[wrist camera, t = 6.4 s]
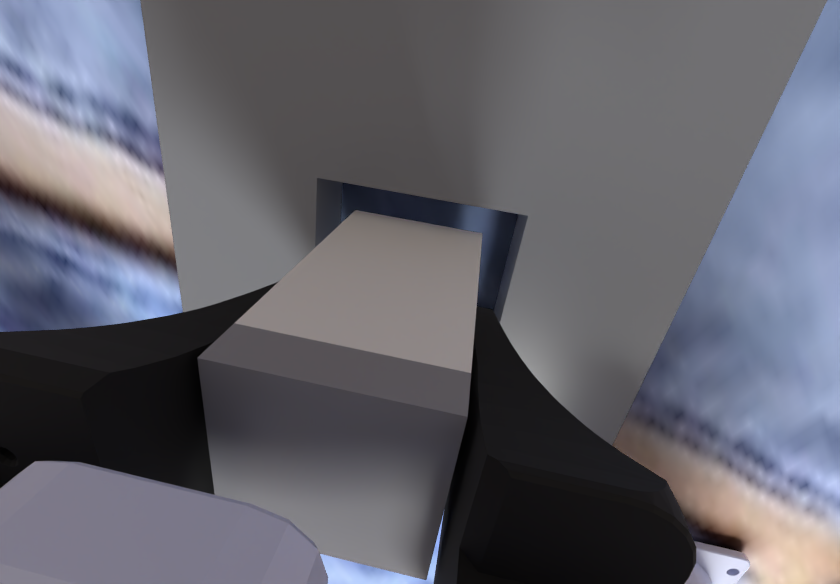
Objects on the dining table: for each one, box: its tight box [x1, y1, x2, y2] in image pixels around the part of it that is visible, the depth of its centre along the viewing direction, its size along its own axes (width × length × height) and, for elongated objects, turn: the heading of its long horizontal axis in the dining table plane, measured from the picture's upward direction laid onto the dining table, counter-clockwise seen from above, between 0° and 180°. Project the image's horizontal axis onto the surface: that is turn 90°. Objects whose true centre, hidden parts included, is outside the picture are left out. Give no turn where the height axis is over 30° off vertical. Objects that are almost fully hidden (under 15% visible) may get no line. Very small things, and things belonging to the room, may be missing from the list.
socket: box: [140, 0, 827, 445], centre depth 15 cm, size 18×16×2 cm
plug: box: [197, 210, 483, 580], centre depth 11 cm, size 4×4×8 cm
